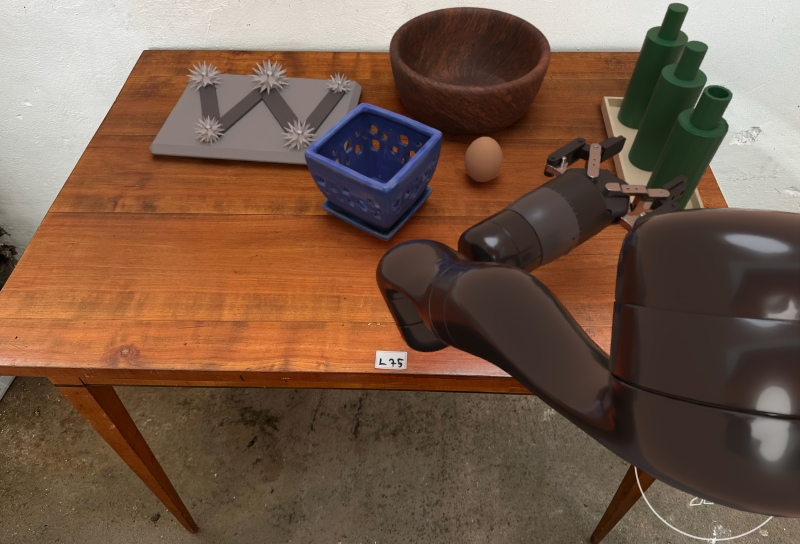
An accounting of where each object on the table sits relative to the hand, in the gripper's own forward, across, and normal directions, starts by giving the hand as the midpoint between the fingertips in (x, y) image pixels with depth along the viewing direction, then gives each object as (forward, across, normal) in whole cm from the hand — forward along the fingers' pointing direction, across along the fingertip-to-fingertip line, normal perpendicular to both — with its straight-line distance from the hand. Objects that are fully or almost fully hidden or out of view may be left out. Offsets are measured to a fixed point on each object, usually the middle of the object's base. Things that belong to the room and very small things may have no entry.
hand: (650, 161), depth 62 cm
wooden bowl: (+3, +36, +13) cm, 38 cm away
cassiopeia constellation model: (-28, +50, +13) cm, 59 cm away
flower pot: (-23, +23, +13) cm, 35 cm away
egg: (-7, +20, +13) cm, 25 cm away
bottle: (+9, 0, +12) cm, 15 cm away
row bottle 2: (+15, +8, +12) cm, 21 cm away
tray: (+15, +8, +13) cm, 21 cm away
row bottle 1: (+22, +15, +12) cm, 29 cm away
